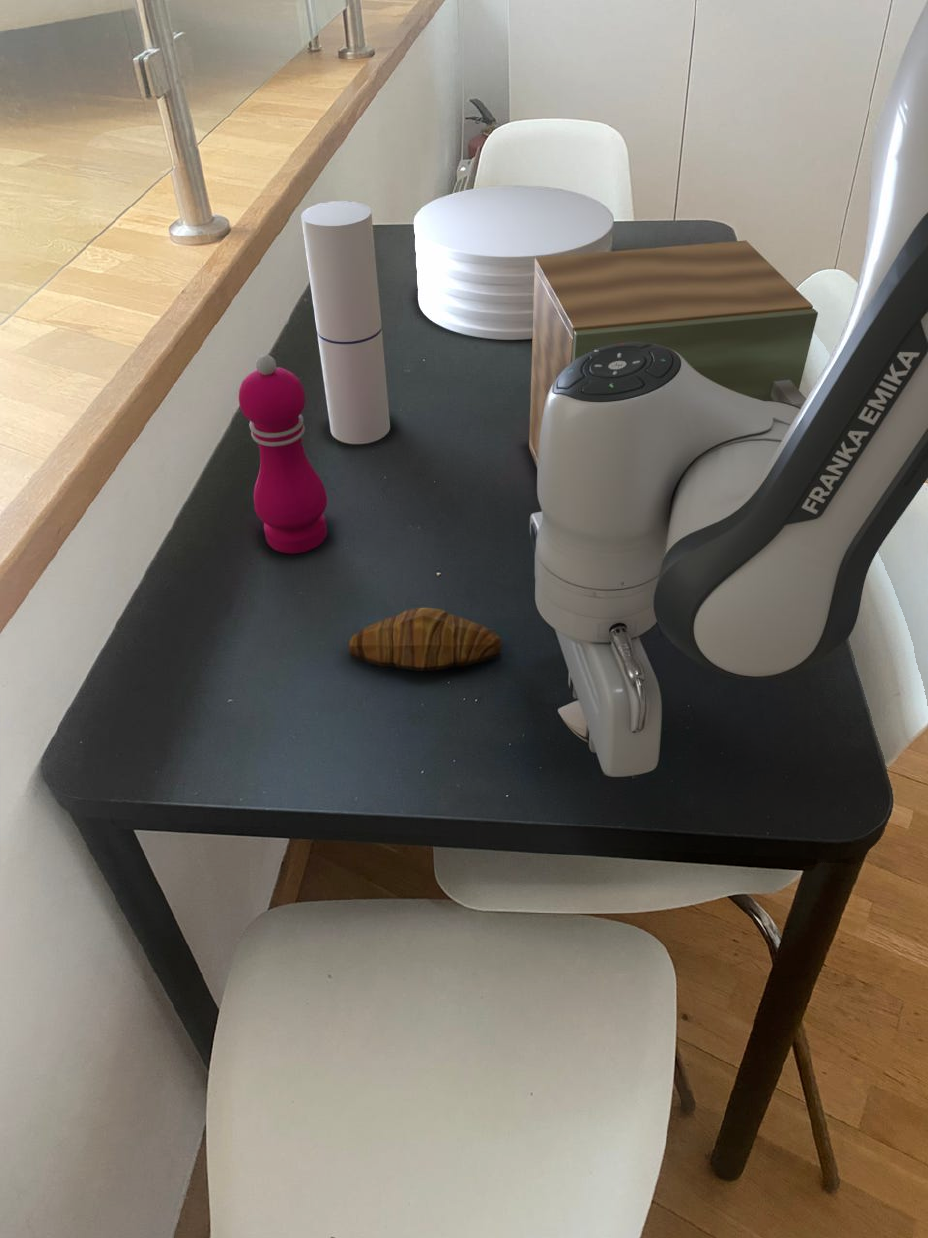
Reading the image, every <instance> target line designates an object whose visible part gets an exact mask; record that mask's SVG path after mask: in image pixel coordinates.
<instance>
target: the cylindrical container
mask: <svg viewBox="0 0 928 1238" xmlns="http://www.w3.org/2000/svg"><path fill="white" fill-rule="evenodd" d="M372 215H373V214H372V209H371V207H369V206H368V205H367V204H364V203H361V202H357V201H349V200H348V201H347V200H337V201H336V200H335V201H334V200H333V201H328V202H327V201H326V202H321V203H316V204H314V205H312V206H311V205H310V206H309V207H307V208H306V209H304V210H303V211H302V212H301V213H300V218H301V225H302V226H301V227H302V233H303V240H304V241H303V242H304V247H305V255H306V262H307V269H308V277H309V284H310V290H311V299H312V305H313V311H314V319H315V320H314V321H315V326H316V327H315V328H316V334H317V341H318V349H319V356H320V357H319V358H320V364H321V371H322V378H323V385H324V393H325V400H326V406H327V407H326V408H327V415H328V421H329V429H330V433H331V435H332V437H333V438H334V439H336V440H337V441H339V442H341V443H344V444H349V445H364V444H370V443H374V442H377V441H380V440H381V439H383V438H384V437H385V436H386V435H388V434H389V432H390V430H391V422H390V421H391V420H390V411H389V397H388V388H387V387H388V385H387V375H386V363H385V353H384V351H385V350H384V340H383V328H382V317H381V307H380V306H381V305H380V296H379V295H380V294H379V293H380V292H379V284H378V283H379V282H378V271H377V261H376V248H375V238H374V237H375V236H374V226H373V217H372Z"/></svg>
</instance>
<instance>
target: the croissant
mask: <svg viewBox="0 0 928 1238" xmlns="http://www.w3.org/2000/svg"><path fill="white" fill-rule="evenodd" d="M502 647H503V644H502V642H501V638H500V636H499V634H497V633H495V632H494V631H492V630H491V629H489V628H487V627H486V626H484V625H482V624H480V623H477V622H474V621H472V620H469V619H466V618H463V617H459V616H457V615H456V616H455V615H453V614H451V613H449V612H448V611H446V610H444V609H439V608H432V607H425V606H424V607H419V608H411V609H406V610H404V611H403V612H401V613H400V614H398V615H396V616H392V617H388V618H385V619H383V620H380V621H377V622H375V623H372V624H370V625H368V626H365V627H364V628H363V629H361V630H360V631H358V632H356V633H355V634H353V635H352V636H351V638H350V640H349V644H348V650H349V653H350V655H351V657H352V658H354V659H356V660H359V661H361V662H364V663H367V664H372V665H375V666H379V667H383V668H399V669H402V670H405V671H416V672H432V671H441V670H446V669H449V668H465V667H469V666H473V665H476V664H481V663H485V662H487V661H490V660H493V659H496V658H498V657H499V656H500V653H501V651H502Z"/></svg>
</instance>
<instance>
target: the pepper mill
mask: <svg viewBox="0 0 928 1238" xmlns="http://www.w3.org/2000/svg"><path fill="white" fill-rule="evenodd" d="M255 367H256V369H255V370H254V371H252V372H250V373H249V374H248V375H247V376H246V377H244V379H243V380H242V382H241V383H240V385H239V389H238V403H239V407H240V411H241V412H242V414H243V416H244V417H245V418H246V419H247V420H248V421H250V422H249V424H248V425H249V426H248V427H249V429H250V431H251V432H250V435H251V438H252V440H253V441H254V442H255V443H257V446H258V449H259V457H260V458H259V459H260V463H259V464H260V465H259V471H258V475H257V477H256V481H255V484H254V488H253V489H254V490H253V504H254V505H253V506H254V511H255V514H256V515H257V518H259V519H260V520H261V522H263V530H264V535H265V540H266V543H267V544H268V545H269V546H270V547H271V548H272V549H273V550H274V551H277V552H280V553H283V554H301V553H306V552H309V551H311V550H314V549H315V548H317V547H318V546H320V545H322V543H323V542H324V541H325V539H326V537H327V533H328V530H327V522H326V517H325V515H324V512H325V511H326V508H327V505H328V497H327V492H326V489H325V485H324V484H323V481H322V479H321V477H320V475H319V474H318V472H317V471H316V470H315V469H314V467H313V466H312V464H311V462H310V460H309V459H308V457H307V455H306V453H305V450H304V445H303V442H302V441H303V440H302V437H303V435H304V434H305V432H306V431H305V430H306V429H305V428H306V427H305V425H304V416H303V415H302V412H303V411H304V408H305V405H306V393H305V389H304V386H303V385H302V382H301V381H300V378H298V377H297V376H296V375H295V374H294V373H293V372H291V371H290V370H287V369H285V368H283V367H278V366H277V361H276V360H275V358H274V357H272V356H271V355H269V354H263V355H260V356H259V357H258V358H257V359H256V361H255Z"/></svg>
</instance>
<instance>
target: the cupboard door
mask: <svg viewBox="0 0 928 1238" xmlns="http://www.w3.org/2000/svg"><path fill="white" fill-rule="evenodd" d="M818 315H819V312H818V311H817V310H816V309H815V308H812V309H806V310H795V311H784V312H773V313H762V314H751V315H740V316H729V317H718V318H708V319H697V320H686V321H675V322H664V323H653V324H642V325H631V326H620V327H609V328H598V329H587V330H576V331H574V338H573V354H572V362H573V361H574V360H576V359H577V358H579V357H581V356H583V355H585V354H587V353H589V352H592V351H594V350H595V349H598V348H601V347H604V346H608V345H613V344H618V343H627V342H643V343H651V344H657V345H661V346H664V347H667V348H669V349H672V350H674V351H675V352H677V353H678V354H680V355H681V356H682V357H683V358H684V359H685V360H686V362H687V363H688V364H689V365H690V366H691V367H692V368H693V369H695V370H696V371H697V372H698V373H700V374H701V375H703V376H704V377H706V378H708V379H709V380H711V381H713V382H715V383H717V384H719V385H721V386H723V387H725V388H727V389H730V390H732V391H735V392H737V393H740V394H743V395H746V396H748V397H752V398H755V399H758V400H776V401H782V402H786V403H790V404H793V405H796V406H798V407H800V408H801V407H802V406H803V404H804V402H805V400H806V399H807V397H805V396H804V394H803V393H802V392H801V391H800V387H801V383H802V379H803V375H804V371H805V367H806V363H807V359H808V354H809V351H810V347H811V344H812V339H813V336H814V331H815V327H816V323H817V320H818Z"/></svg>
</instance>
